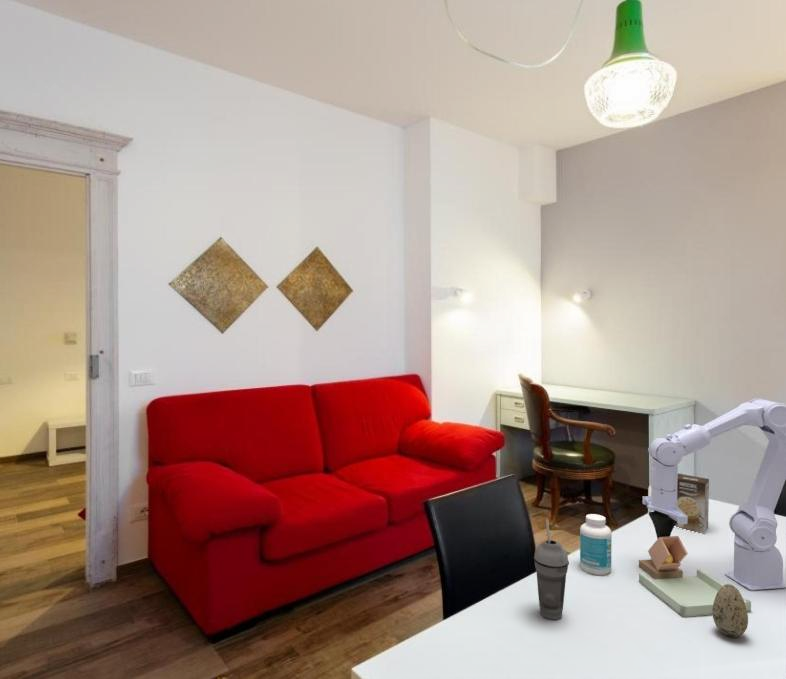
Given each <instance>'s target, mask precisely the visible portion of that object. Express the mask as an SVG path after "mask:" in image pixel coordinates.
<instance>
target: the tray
mask: <svg viewBox="0 0 786 679" xmlns="http://www.w3.org/2000/svg"><path fill="white" fill-rule="evenodd" d="M638 583H640V584H641V585H642V586H643V587H645V588H646V589H647V590H648V591H650V592H651V593H652V595H654V596H655V597H657V598H658V599H659V600H661V601H662V602H663V603H664V604H665V605H666V606H668V607H669V608H670V609H672V610H673V611H674V612H676V613H677V614H679V615H680V617H682V618H691V617H703V616H713V614H712V609H713V603H714V600H715V597H716V595H717V593H718V591H719V589H720V588H721V587H722V586H724V585H725V584H724V583H722V582H721V581H720V580H718V579H716V578H715V577H713V576H711V575H710V574H708V573H706V572H705V571H703V570H702V569H701V568H697V569H696V576H689V577H688V576H687V577H684V576H683V578H669V579H650V578H649V577H648V576H647V575H646V574H644V573H643V572H639V573H638ZM741 596H742V598H743V600H744V603H745V606H746V609H747V613H752V601H751V600H750V599H747V598H746V597H745V596H743V595H741Z"/></svg>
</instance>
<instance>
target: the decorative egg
mask: <svg viewBox="0 0 786 679" xmlns="http://www.w3.org/2000/svg"><path fill="white" fill-rule="evenodd" d="M742 596H743V595H742V594H741V592H740V591H739V590H738V588H737V587H735V586H734V585H733V584H730V583H727V584H724V586H722V587H721V588H720V589H719V591H718V593H717V595H716V597H715V600H714V603H713V609H712V614H713V615H712V619H713V622H714V624H715V626H716V628H717V629H718V630H719V631H720V632H721V633H722V634H724V635H726V636H727V637H730V638H731V637H732V638H737V637H739V636H742V635H744V634H745V632H746V631H747V629H748V626H749V615H748V612H747V609H746V606H745V603H744V600H743V598H742Z"/></svg>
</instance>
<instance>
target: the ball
mask: <svg viewBox="0 0 786 679" xmlns="http://www.w3.org/2000/svg"><path fill="white" fill-rule="evenodd" d="M672 562H673V557H672V555H671V554H670V556H669V557H668V558H667V559H666V561H665V562H664V563H663V564H665V563H672Z"/></svg>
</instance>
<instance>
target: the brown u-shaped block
mask: <svg viewBox="0 0 786 679" xmlns="http://www.w3.org/2000/svg"><path fill="white" fill-rule="evenodd" d="M686 549H687V548H686V547H685V546H684V544H683V542H682V540H681V539H680V537H679V535H674V536H673V535H672V536H671V535H670V537H659V538H658V539H656V540H655V542H654V543H653V544H652V546H650V547H649V549H648V550H647V552H648V555H649V556H650V559H652V561H653V563H654V565H655V567H656V569H657V571H660V570H675V569H677V568H679V567H680V566H681V565H682V564H681V562H682V561H683V560H684V559H685V558H686V556H687V555H688V554H689V553H688V552H687V550H686ZM670 554H671V555H672V557H673V562H672V563H665V564H663V563H664V562H665V561H666V559H667V558H668V557H669V556H670Z"/></svg>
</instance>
